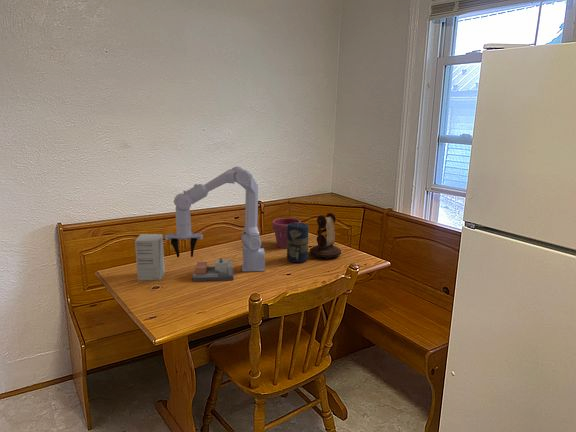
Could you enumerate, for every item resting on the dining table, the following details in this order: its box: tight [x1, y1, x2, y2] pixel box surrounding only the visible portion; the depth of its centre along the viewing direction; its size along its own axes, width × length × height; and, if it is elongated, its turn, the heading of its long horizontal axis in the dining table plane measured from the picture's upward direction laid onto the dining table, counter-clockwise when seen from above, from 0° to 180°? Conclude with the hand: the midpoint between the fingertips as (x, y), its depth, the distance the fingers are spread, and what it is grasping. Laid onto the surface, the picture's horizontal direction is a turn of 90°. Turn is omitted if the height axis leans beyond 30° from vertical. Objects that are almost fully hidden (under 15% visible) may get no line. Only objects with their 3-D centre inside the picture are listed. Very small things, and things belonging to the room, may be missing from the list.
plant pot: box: [271, 217, 302, 249], centre depth 224 cm, size 14×14×13 cm
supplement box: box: [134, 233, 166, 281], centre depth 182 cm, size 10×9×17 cm
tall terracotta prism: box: [194, 261, 208, 274], centre depth 183 cm, size 4×7×4 cm, turn 5°
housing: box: [214, 257, 229, 275], centre depth 184 cm, size 5×4×6 cm
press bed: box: [192, 259, 235, 282], centre depth 184 cm, size 16×10×6 cm, turn 95°
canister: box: [286, 222, 309, 263], centre depth 202 cm, size 10×10×18 cm
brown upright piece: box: [309, 212, 342, 261], centre depth 209 cm, size 15×15×20 cm
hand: (185, 256), depth 181 cm, fingers open, 5 cm apart
